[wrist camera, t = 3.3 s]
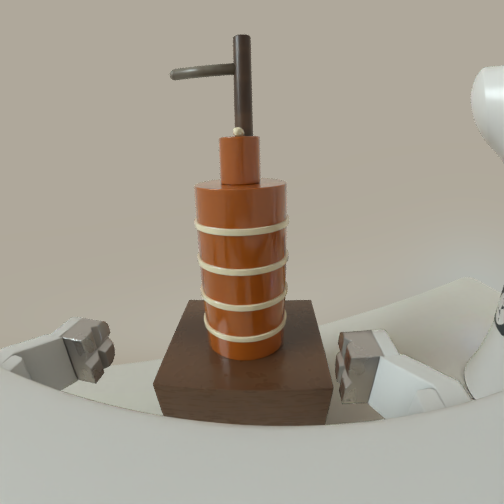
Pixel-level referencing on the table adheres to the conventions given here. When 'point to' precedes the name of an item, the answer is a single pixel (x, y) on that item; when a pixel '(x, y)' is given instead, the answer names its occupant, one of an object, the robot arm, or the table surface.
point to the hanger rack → (236, 371)
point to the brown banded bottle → (242, 252)
